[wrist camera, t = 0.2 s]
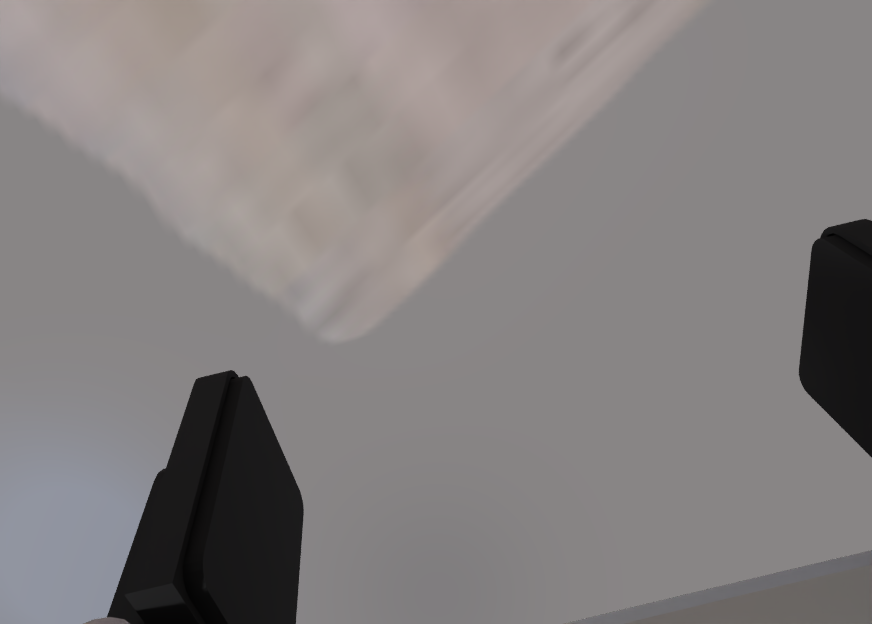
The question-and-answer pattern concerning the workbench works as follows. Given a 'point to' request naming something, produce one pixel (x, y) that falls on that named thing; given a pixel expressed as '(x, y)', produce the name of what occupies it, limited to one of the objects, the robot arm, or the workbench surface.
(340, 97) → the workbench surface
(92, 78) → the workbench surface
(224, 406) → the robot arm
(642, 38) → the workbench surface
